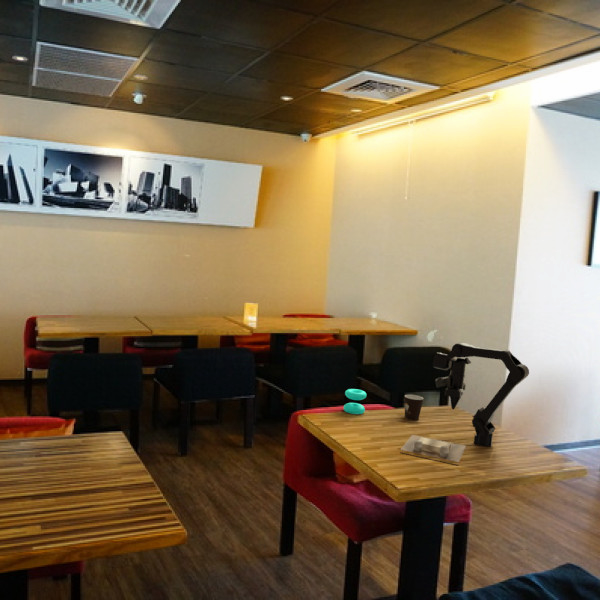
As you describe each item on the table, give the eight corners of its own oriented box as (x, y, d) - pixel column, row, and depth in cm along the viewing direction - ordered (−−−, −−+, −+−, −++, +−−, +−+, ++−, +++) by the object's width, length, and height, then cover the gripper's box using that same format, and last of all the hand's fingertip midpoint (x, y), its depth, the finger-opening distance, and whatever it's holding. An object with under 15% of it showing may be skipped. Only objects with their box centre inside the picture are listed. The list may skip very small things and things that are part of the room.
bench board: (465, 449, 251) (467, 437, 251) (458, 466, 231) (459, 453, 230) (411, 438, 259) (413, 426, 259) (399, 453, 239) (401, 440, 238)
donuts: (363, 395, 284) (342, 391, 287) (361, 416, 285) (340, 412, 288) (369, 390, 293) (349, 387, 297) (367, 411, 294) (346, 407, 298)
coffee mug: (422, 421, 285) (425, 400, 284) (403, 419, 286) (406, 398, 285) (418, 414, 297) (420, 394, 296) (400, 412, 297) (402, 392, 296)
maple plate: (450, 449, 244) (451, 443, 244) (447, 455, 237) (448, 449, 237) (420, 443, 249) (420, 437, 249) (416, 448, 241) (416, 442, 241)
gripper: (441, 365, 272) (437, 400, 273) (434, 373, 255) (429, 410, 256) (467, 370, 268) (463, 405, 269) (462, 377, 251) (457, 415, 252)
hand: (453, 408), depth 262 cm, fingers closed
